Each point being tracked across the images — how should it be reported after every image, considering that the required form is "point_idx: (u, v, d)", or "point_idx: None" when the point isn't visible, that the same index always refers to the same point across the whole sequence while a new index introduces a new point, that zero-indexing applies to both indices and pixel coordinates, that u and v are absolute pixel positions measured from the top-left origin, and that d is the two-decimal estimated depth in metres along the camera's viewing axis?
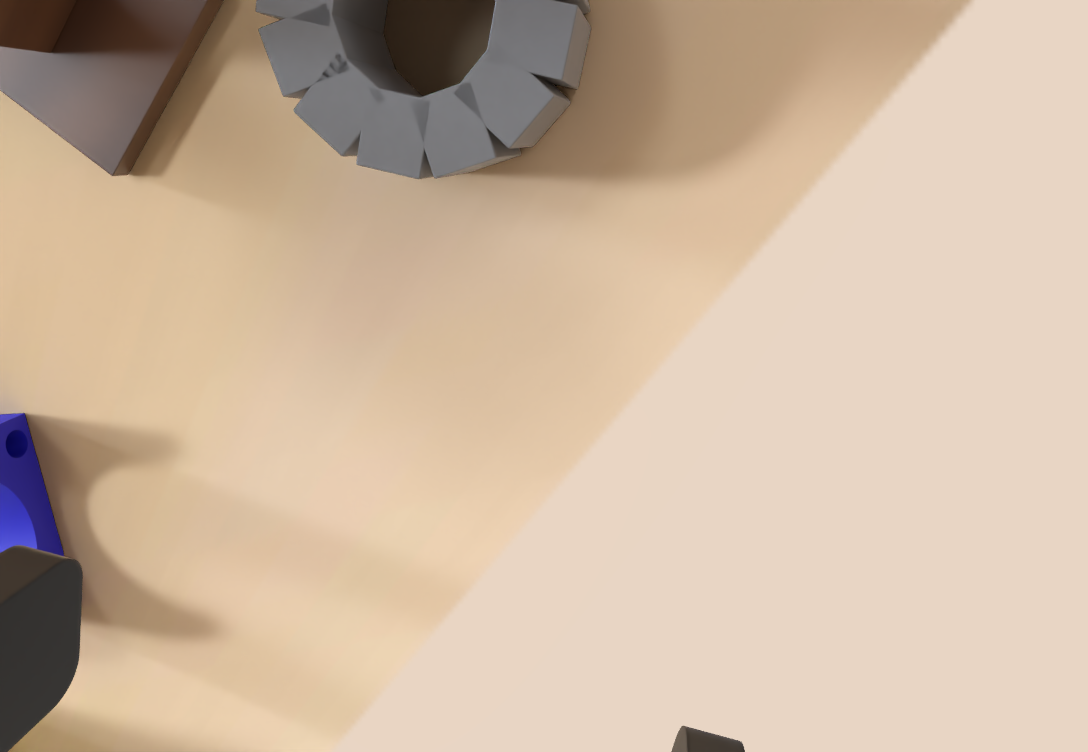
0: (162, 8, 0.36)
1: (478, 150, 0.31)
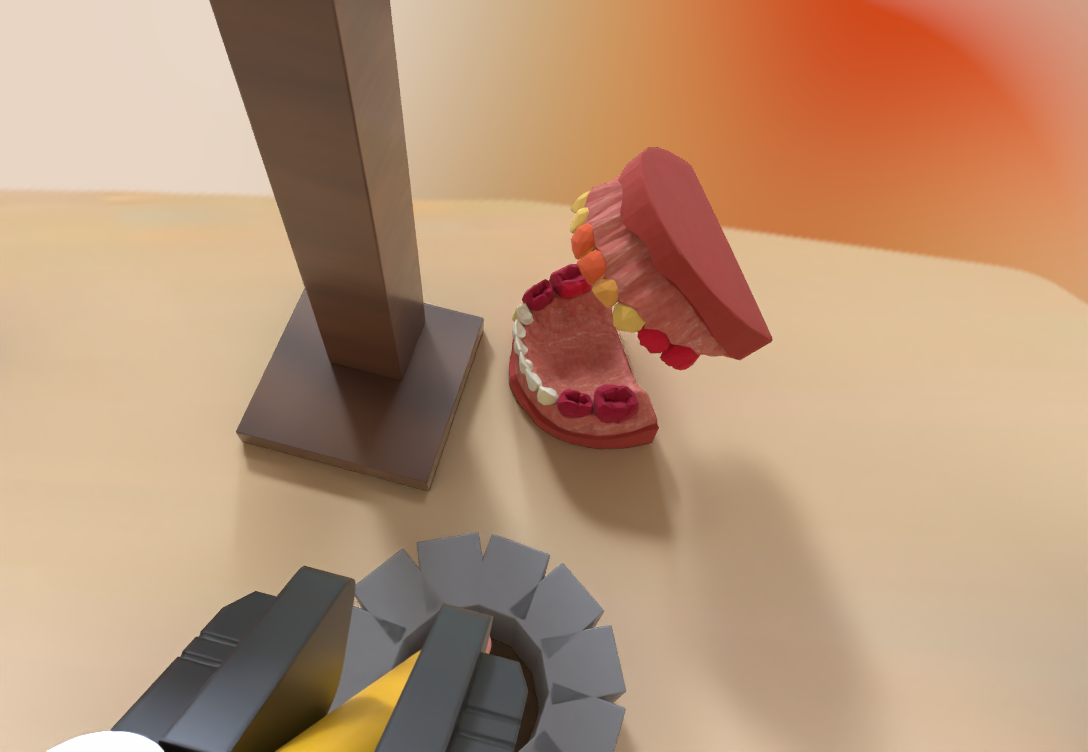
0: (397, 444, 0.41)
1: None
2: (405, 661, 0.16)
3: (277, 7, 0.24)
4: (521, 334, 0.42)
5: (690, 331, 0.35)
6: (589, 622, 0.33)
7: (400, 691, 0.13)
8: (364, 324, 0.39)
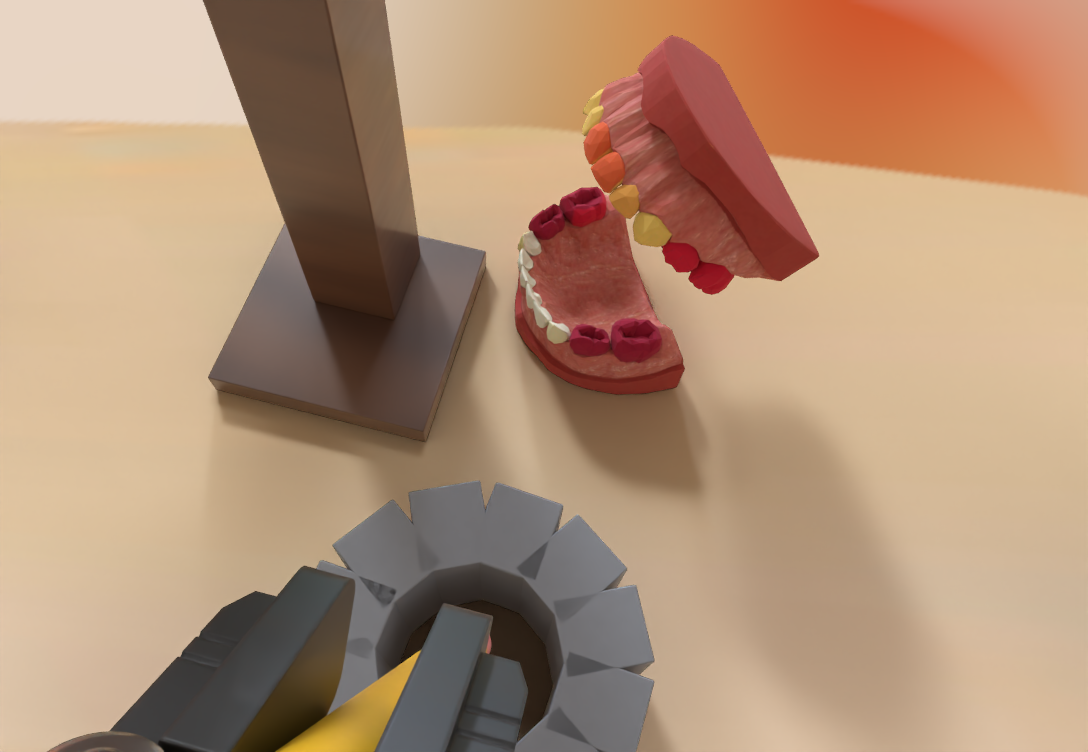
0: (389, 389, 0.37)
1: None
2: (405, 661, 0.16)
3: None
4: (528, 265, 0.38)
5: (724, 244, 0.30)
6: (610, 581, 0.28)
7: (400, 691, 0.13)
8: (348, 249, 0.34)
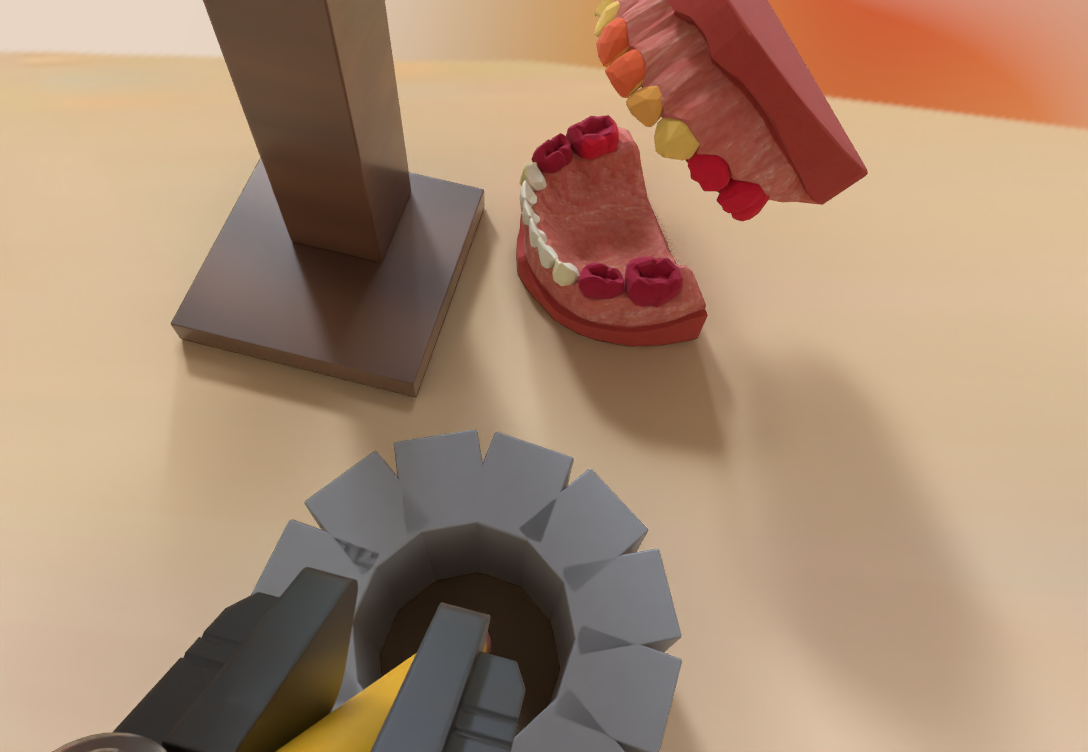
0: (375, 338, 0.32)
1: None
2: (405, 661, 0.16)
3: None
4: (531, 199, 0.33)
5: (759, 157, 0.26)
6: (628, 545, 0.24)
7: None
8: (328, 173, 0.30)
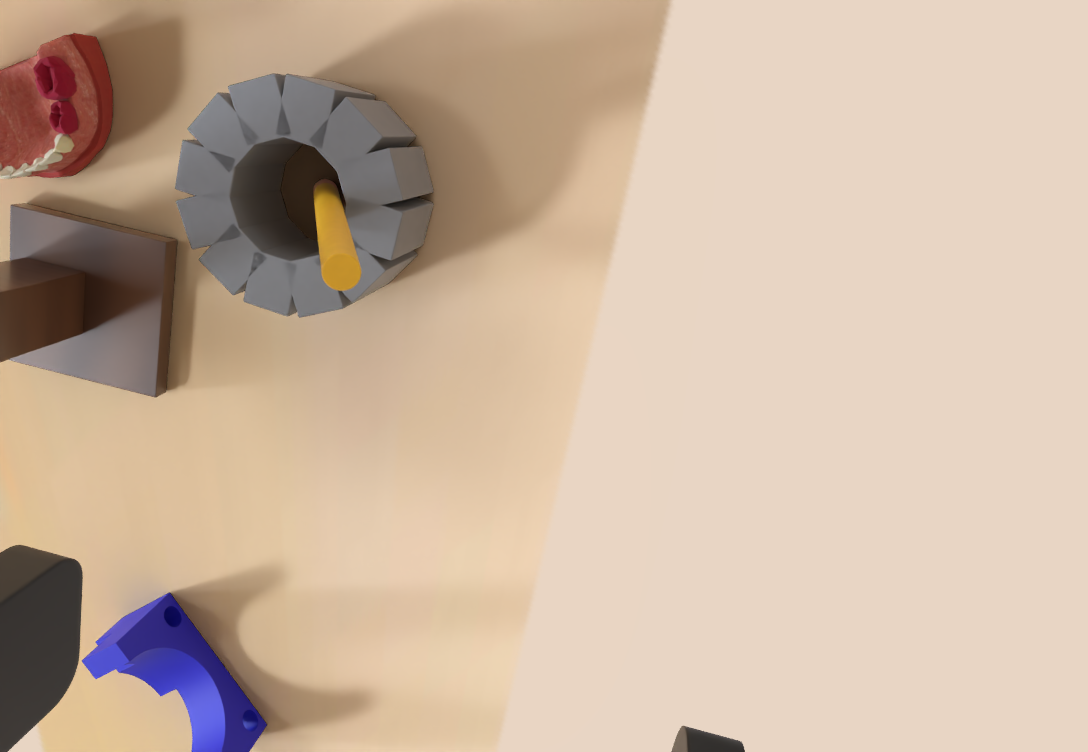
0: (139, 270, 0.49)
1: (372, 271, 0.42)
2: None
3: None
4: (10, 170, 0.46)
5: None
6: (228, 104, 0.41)
7: (318, 230, 0.35)
8: (24, 310, 0.45)
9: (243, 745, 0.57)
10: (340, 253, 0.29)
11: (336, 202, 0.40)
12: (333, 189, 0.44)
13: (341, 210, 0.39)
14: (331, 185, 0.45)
